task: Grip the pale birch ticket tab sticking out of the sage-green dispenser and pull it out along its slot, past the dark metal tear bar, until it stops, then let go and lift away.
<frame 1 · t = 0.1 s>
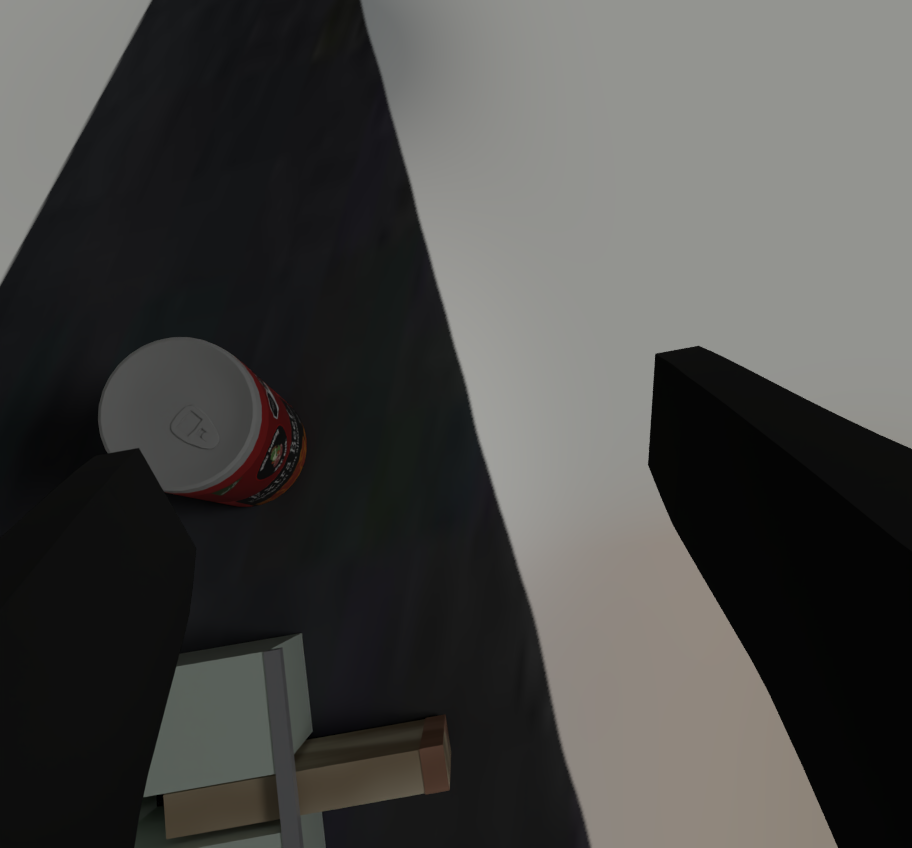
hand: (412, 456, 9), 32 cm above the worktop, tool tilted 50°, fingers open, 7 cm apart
ticket tab: (319, 771, 34), point 3 cm above the worktop, slide at 0.0 cm
canned food: (251, 448, 42), on the worktop
ticket dispenser: (231, 769, 38), on the worktop
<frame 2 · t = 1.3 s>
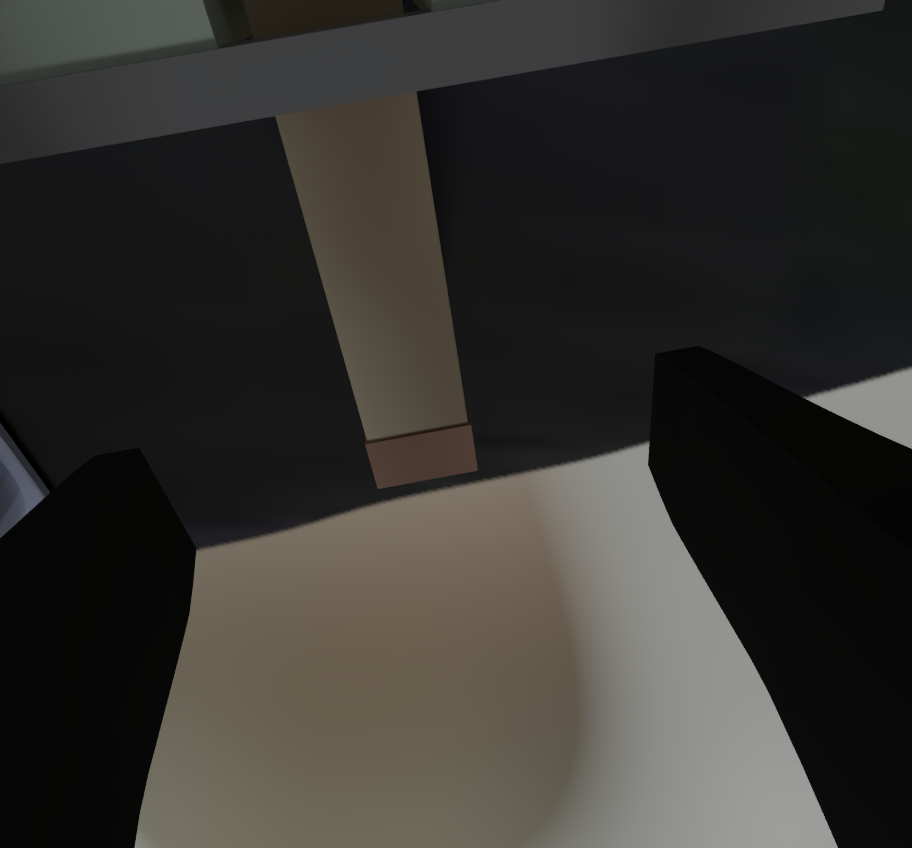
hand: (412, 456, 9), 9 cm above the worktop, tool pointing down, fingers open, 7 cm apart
ticket tab: (350, 79, 11), point 4 cm above the worktop, slide at 0.0 cm
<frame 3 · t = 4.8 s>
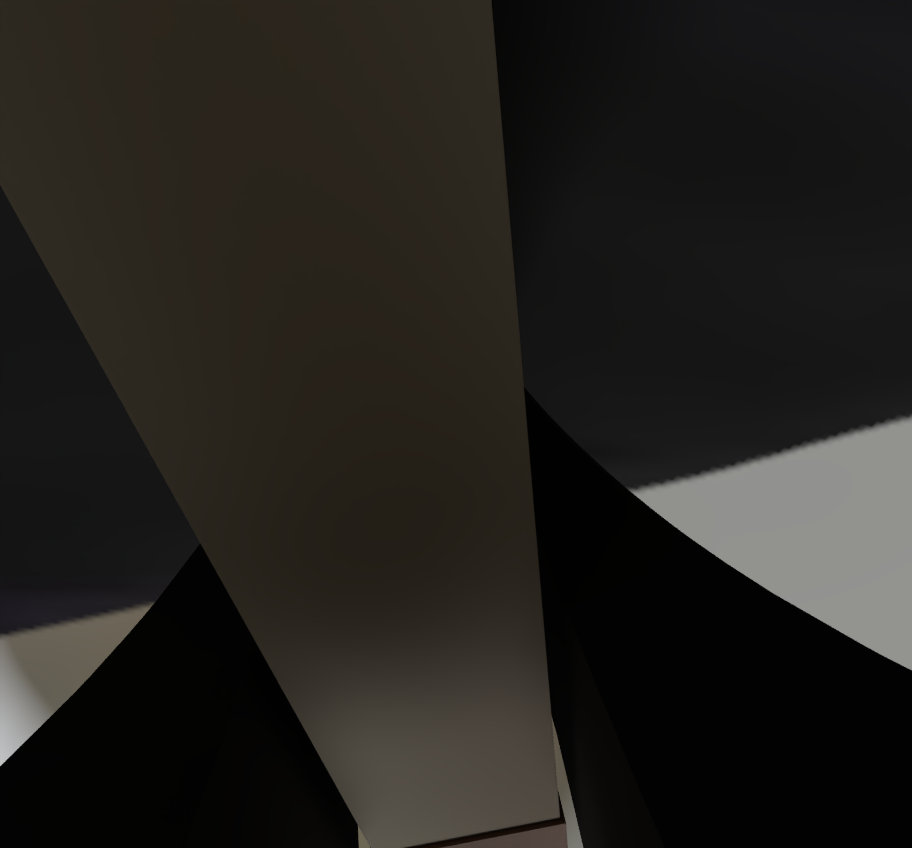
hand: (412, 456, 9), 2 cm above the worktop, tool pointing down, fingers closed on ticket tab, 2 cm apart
ticket tab: (341, 204, 6), point 4 cm above the worktop, slide at 5.5 cm, touching gripper
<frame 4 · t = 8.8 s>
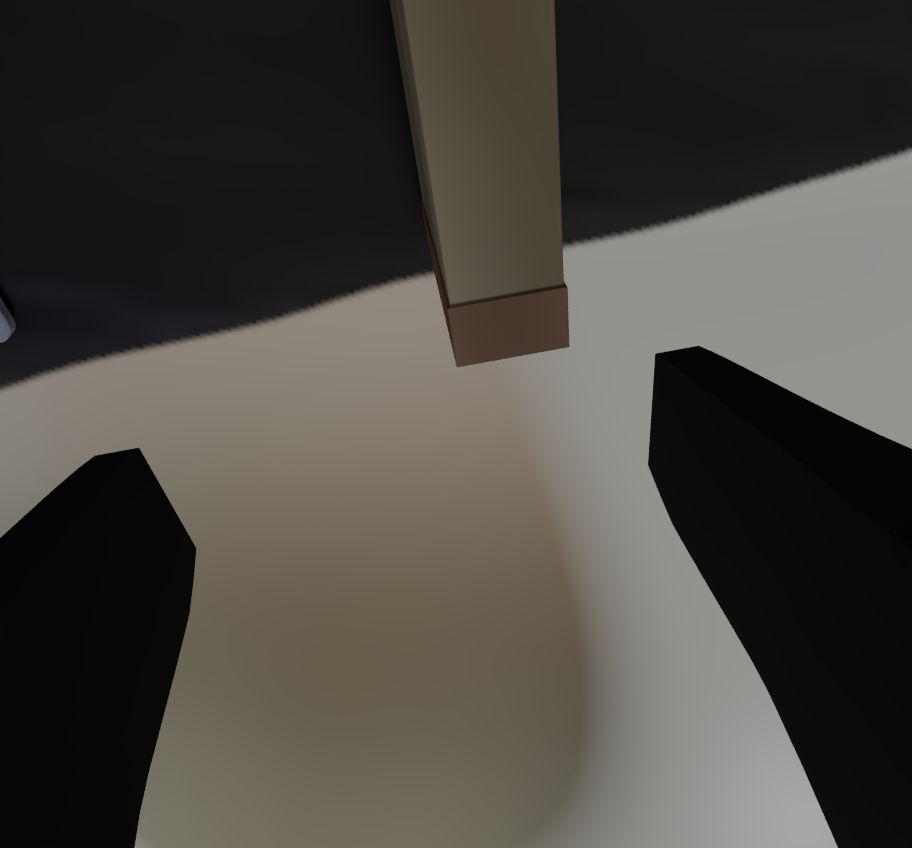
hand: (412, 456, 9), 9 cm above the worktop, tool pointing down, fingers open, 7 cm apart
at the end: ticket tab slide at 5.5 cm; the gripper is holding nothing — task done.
